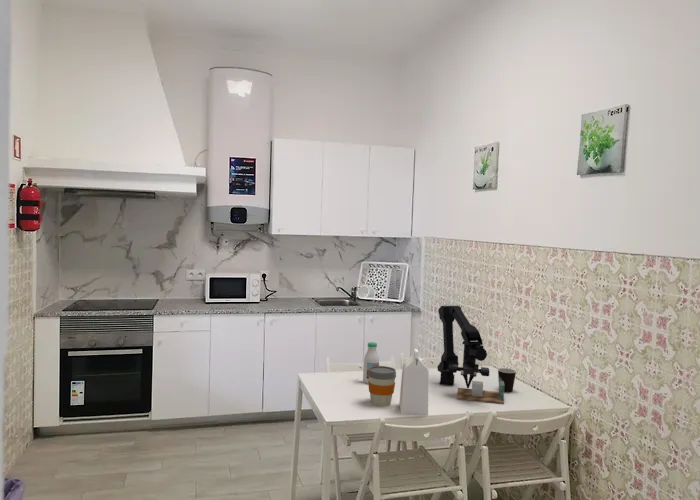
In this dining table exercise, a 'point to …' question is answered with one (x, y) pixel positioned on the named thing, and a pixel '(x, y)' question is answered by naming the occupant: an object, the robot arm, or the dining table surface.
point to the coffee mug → (507, 378)
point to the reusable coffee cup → (381, 384)
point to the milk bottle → (370, 360)
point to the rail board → (480, 399)
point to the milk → (414, 386)
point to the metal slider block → (477, 388)
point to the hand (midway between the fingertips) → (467, 388)
